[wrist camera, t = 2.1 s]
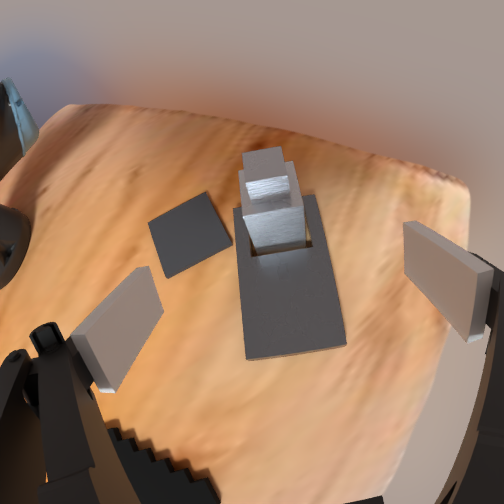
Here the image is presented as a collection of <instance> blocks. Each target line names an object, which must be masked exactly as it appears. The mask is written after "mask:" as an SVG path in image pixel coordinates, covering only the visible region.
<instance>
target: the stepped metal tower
mask: <svg viewBox="0 0 504 504" xmlns="http://www.w3.org/2000/svg"><path fill="white" fill-rule="evenodd" d="M242 158H243V167H244V170H239V171H238V173H239V184H240V194H241V205H242V215H243V219H244V221H245V224H246V226H247V229H248V231H249V234H250V237H251V239H252V242H253V244H254V247H255V250H256V252H257V255H258V256H262V255H268V254H274V253H280V252H286V251H292V250H298V249H304V248H306V236H305V219H304V205H303V201H302V197H301V192H300V188H299V184H298V180H297V175H296V171H295V167H294V163H293V161H288V162H285V161H284V157H283V153H282V148H281V146H278V147H272V148H267V149H261V150H256V151H251V152H246V153H242Z"/></svg>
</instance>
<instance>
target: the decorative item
mask: <svg viewBox="0 0 504 504" xmlns="http://www.w3.org/2000/svg"><path fill="white" fill-rule="evenodd" d="M107 431H108V434H109V436H110V439H111V441H112V444H113V446H114V448H115V451H116V453H117V455H118V458H119V460H120V462H121V464H122V467H123V469H124V471H125V473H126V475H127V477H128V479H129V481H130V483H131V485H132V487H133V489H134V491H135V493H136V495H137V497H138V499H139V501H140V502H141V504H220V503H221V502H220V500H219V498H218V496H217V494H216V492H215V490H214V488H213V486H212V484H211V483H210V481H209V479H208V477H207V478H203V479H200V480H196V481H194V480H193V478H192V475H191V473H190V471H189V469H188V468H185V469H181V470H177V471H174V468H173V466H172V464H171V462H170V460H169V458H167V459H163V460H159V461H156V459H155V457H154V455H153V452H152V450H151V448H148V449H144V450H140V451H139V450H138V447H137V445H136V442H135V439H134V438H129V439H125V440H122V437H121V434H120V431H119V429H118V428H111V429H107Z"/></svg>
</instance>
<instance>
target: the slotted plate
mask: <svg viewBox="0 0 504 504" xmlns="http://www.w3.org/2000/svg"><path fill="white" fill-rule="evenodd" d="M302 201H303V205H304V212H305V217H306V222H307V226H308V231H309V236H310V240H311V245H312V247H310V248H304V249H298V250H292V251H286V252H280V253H274V254H268V255H262V256H256V257H253V254H252V245H251V237H250V234H249V231H248V229H247V226H246V224H245V221H244V219H243V215H242V207H239V208H234V209H233V214H234V227H235V240H236V252H237V264H238V276H239V287H240V299H241V310H242V321H243V332H244V343H245V354H246V360H248V361H254V360H262V359H270V358H278V357H285V356H292V355H299V354H305V353H311V352H317V351H323V350H329V349H334V348H340V347H345V346H346V345H347V342H346V336H345V331H344V325H343V320H342V314H341V309H340V304H339V299H338V294H337V289H336V284H335V279H334V274H333V269H332V265H331V260H330V256H329V251H328V247H327V243H326V238H325V234H324V230H323V226H322V222H321V217H320V213H319V209H318V206H317V202H316V198H315V194H313V195H307V196H302Z"/></svg>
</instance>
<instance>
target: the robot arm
mask: <svg viewBox="0 0 504 504" xmlns="http://www.w3.org/2000/svg"><path fill="white" fill-rule="evenodd" d="M38 136H39V128H38V126H37V124H36V123H35V121H34V119H33V117H32V116H31V114H30V112H29V111H28V109H27V107H26V105H25V104H24V102H23V100H22V98H21V96H20V95H19V92H18V91H17V89H16V87H15V85H14V83H13V81H12V79H11V78H6V79H4V80H2V81H1V83H0V181H1V180H2V179H3V178H4V176H5V175H6V174H7V173H8V172H9V171H10V170H11V169H12V168H13V167H14V165H15V164H16V163H17V162H18V161H19V160H20V159H21V158H22V157H24V156H25V155H26V152H27V151H28V150H29V149H30V148H31V146H32V145H33V144H34V143H35V142H36V141H37V139H38ZM403 236H404V273H405V274H406V275H407V277H408V278H409V279H410V280H411V281H412V282H413V283H414V284H415V285H416V286H417V287H418V288H419V289H420V290H421V291H422V293H423V294H424V295H425V296H426V297H427V298H428V299H429V300H430V301H431V302H432V304H433V305H434V306H435V307H436V308H437V309H438V310H439V311H440V312H441V314H442V315H443V316H444V317H445V318H446V319H447V321H448V322H449V323H450V324H451V325H452V326H453V327H454V329H455V330H456V331H457V332H458V333H459V335H460V336H461V337H462V338H463V339H464V340H465V342H466V343H470V342H473V341H475V340H479V339H481V338H483V333H484V329H485V324H487V325H488V326H489V327H490V328H491V332H490V336H489V341H488V345H487V349H486V352H485V354H486V359H485V364H484V369H483V374H482V378H481V382H480V386H479V390H478V394H477V398H476V402H475V405H474V408H473V412H472V415H471V418H470V422H469V425H468V428H467V431H466V434H465V437H464V439H463V442H462V445H461V447H460V450H459V453H458V455H457V458H456V460H455V463H454V466H453V468H452V470H451V472H450V474H449V477H448V479H447V481H446V483H445V486H444V488H443V490H442V491H441V493H440V495H439V497H438V499H437V500H436V502H435V504H504V272H503V271H501V270H499V269H498V268H497V267H495V266H494V265H492V264H491V263H489V262H488V261H486V260H483V258H481V257H480V256H478V255H477V254H474V253H471V252H468V251H466V250H464V249H463V248H461V247H460V246H458V245H456V244H455V243H453V242H452V241H450V240H448V239H447V238H445V237H443V236H442V235H440V234H438V233H437V232H435V231H433V230H431V229H430V228H428V227H426V226H425V225H423V224H421V223H419V222H417V221H410V222H404V223H403ZM29 239H30V222H29V219H28V218H27V216H25V215H24V214H23V213H22V212H21V211H19V210H18V209H15V208H9V207H7V206H4V205H2V204H0V289H2V288H3V287H4V286H6V285H7V284H8V283H9V282H10V280H11V279H12V278H13V276H14V275H15V273H16V272H17V270H18V269H19V267H20V265H21V263H22V261H23V258H24V256H25V253H26V250H27V247H28V243H29ZM163 313H164V310H163V307H162V304H161V302H160V299H159V296H158V293H157V290H156V287H155V284H154V280H153V277H152V274H151V271H150V268H149V266H145V267H139V268H136V269H135V270H134V271H133V272H132V273H131V274H130V275H129V276H128V277H127V278H126V279H124V280H123V281H122V282H121V283H120V284H119V285H118V286H117V287H116V288H115V289H114V290H113V291H112V292H111V293H110V294H109V295H108V296H107V297H106V298H105V299H104V300H103V301H102V302H101V303H100V304H99V305H98V306H97V307H96V308H95V309H94V310H93V311H92V312H91V313H90V314H89V315H88V316H87V317H86V319H85V320H84V321H83V322H82V323H81V324H80V325H79V326H78V327H77V328H76V329H75V330H74V331H73V332H72V333H71V334H70V337H69V338H68V339H67V340H66V341H65V340H64V338H63V336H62V334H61V332H60V330H59V328H58V325H57V324H56V323H55V322H49V323H46V324H43V325H41V326H39V327H37V328H36V329H34V330H33V331H32V332H31V333H30V336H29V337H30V339H31V341H32V343H33V345H34V347H35V349H36V351H37V352H38V354H39V357H37V358H33V359H31V358H30V356H29V354H28V353H27V351H26V350H25V349H19V350H17V351H16V350H15V351H13V352H11V353H10V354H9V355H8V356H7V357H6V358H5V360H4V361H3V363H2V365H1V367H0V504H141V502H140V501H139V499H138V497H137V495H136V493H135V491H134V489H133V487H132V485H131V483H130V481H129V479H128V477H127V475H126V473H125V471H124V469H123V467H122V464H121V462H120V460H119V458H118V455H117V453H116V451H115V448H114V446H113V444H112V441H111V439H110V436H109V434H108V431H107V429H106V426H105V424H104V421H103V418H102V415H101V413H100V410H99V407H98V404H97V401H96V398H95V395H94V393H93V391H92V390H91V388H90V386H91V384H92V383H93V381H94V382H95V384H96V385H97V387H98V389H99V390H100V392H106V393H116V391H117V390H118V388H119V386H120V384H121V383H122V381H123V379H124V378H125V376H126V374H127V372H128V371H129V369H130V367H131V366H132V364H133V362H134V361H135V359H136V357H137V355H138V354H139V352H140V350H141V349H142V347H143V345H144V344H145V342H146V340H147V339H148V337H149V336H150V334H151V332H152V331H153V329H154V327H155V326H156V324H157V322H158V321H159V319H160V318H161V316H162V314H163ZM24 398H25V399H24ZM25 400H26V401H27V402H26V401H25ZM46 472H47V477H48V482H47V483H46ZM345 504H384V502H383V497H382V495H381V496H377V497H373V498H369V499H365V500H360V501H355V502H350V503H345Z"/></svg>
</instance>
